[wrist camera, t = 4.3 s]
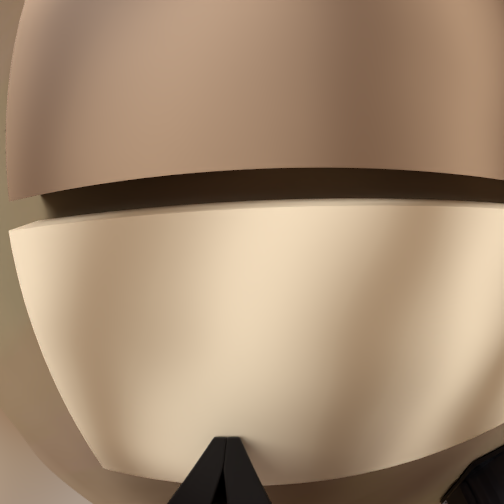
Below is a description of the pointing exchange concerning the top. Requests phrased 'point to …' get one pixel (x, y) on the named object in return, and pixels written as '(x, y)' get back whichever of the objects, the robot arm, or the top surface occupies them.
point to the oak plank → (272, 330)
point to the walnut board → (252, 88)
